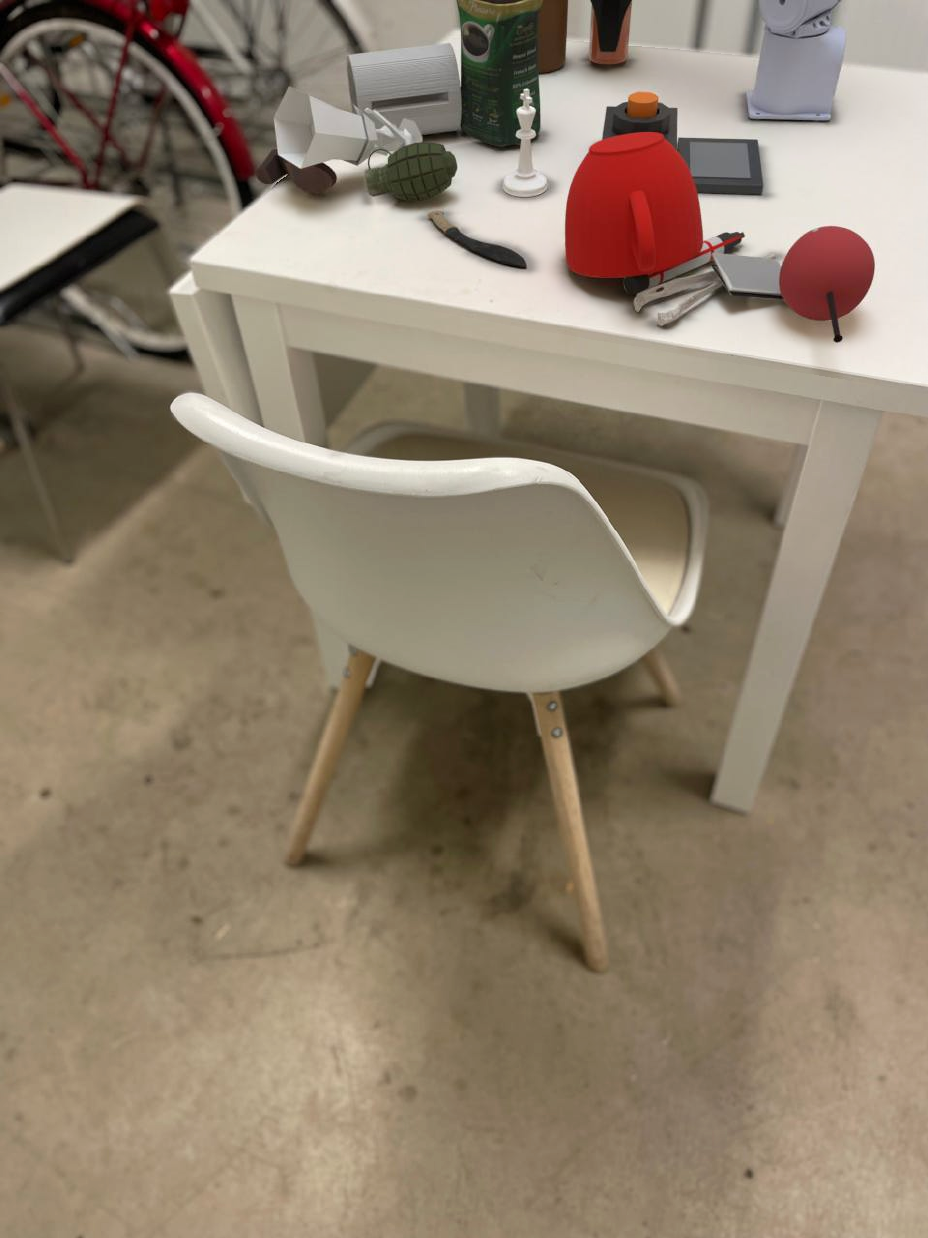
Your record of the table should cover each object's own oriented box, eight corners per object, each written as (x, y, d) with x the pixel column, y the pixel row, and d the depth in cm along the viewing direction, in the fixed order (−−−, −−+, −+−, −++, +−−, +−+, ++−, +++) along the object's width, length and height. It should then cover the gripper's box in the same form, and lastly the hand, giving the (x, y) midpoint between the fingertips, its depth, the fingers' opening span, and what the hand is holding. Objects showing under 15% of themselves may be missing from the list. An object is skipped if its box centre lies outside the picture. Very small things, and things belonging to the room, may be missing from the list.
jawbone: (666, 330, 85) (670, 309, 83) (628, 308, 87) (632, 288, 86) (791, 278, 92) (797, 258, 91) (753, 259, 95) (758, 239, 93)
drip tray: (756, 147, 109) (758, 138, 109) (761, 194, 102) (763, 184, 101) (677, 145, 111) (678, 135, 110) (676, 191, 103) (677, 181, 102)
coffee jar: (551, 135, 114) (557, -49, 100) (503, 155, 111) (503, -33, 97) (497, 113, 119) (495, -65, 105) (449, 132, 116) (441, -50, 102)
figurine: (271, 93, 100) (401, 120, 112) (279, 176, 102) (406, 193, 114) (310, 74, 95) (441, 104, 107) (317, 161, 97) (446, 181, 109)
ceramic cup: (723, 151, 76) (725, 275, 82) (686, 114, 90) (689, 223, 96) (563, 181, 78) (576, 301, 83) (550, 140, 91) (561, 246, 97)
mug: (506, 87, 125) (505, 4, 118) (472, 71, 129) (470, -10, 122) (577, 65, 129) (580, -16, 122) (542, 50, 133) (544, -29, 126)
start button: (656, 108, 104) (658, 91, 103) (656, 120, 102) (658, 102, 101) (627, 108, 104) (628, 90, 103) (626, 119, 102) (627, 102, 101)
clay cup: (628, 50, 130) (633, -8, 125) (626, 64, 127) (631, 4, 122) (590, 50, 131) (593, -9, 126) (587, 63, 128) (590, 4, 122)
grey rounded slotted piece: (349, 106, 117) (444, 94, 119) (363, 159, 114) (460, 146, 115) (344, 36, 109) (445, 24, 110) (358, 91, 106) (462, 78, 107)
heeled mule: (319, 157, 101) (339, 139, 102) (244, 154, 106) (264, 137, 108) (333, 197, 104) (352, 179, 106) (259, 193, 109) (279, 176, 111)
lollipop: (770, 362, 78) (762, 279, 88) (856, 391, 78) (839, 305, 88) (818, 278, 72) (804, 200, 83) (911, 309, 73) (885, 228, 83)
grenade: (458, 134, 104) (373, 156, 107) (444, 120, 98) (353, 143, 100) (469, 196, 106) (384, 216, 108) (455, 186, 99) (366, 207, 101)
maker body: (672, 145, 111) (679, 90, 106) (671, 191, 103) (679, 133, 98) (603, 143, 112) (607, 88, 107) (597, 189, 104) (601, 132, 99)
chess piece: (516, 200, 103) (517, 102, 95) (495, 183, 106) (493, 86, 98) (555, 190, 104) (559, 91, 97) (533, 173, 107) (535, 77, 100)
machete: (536, 266, 94) (536, 259, 93) (513, 276, 92) (513, 269, 92) (440, 213, 101) (440, 206, 101) (417, 221, 100) (417, 214, 100)
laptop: (717, 242, 87) (707, 260, 88) (738, 282, 84) (727, 301, 86) (783, 249, 89) (772, 266, 91) (805, 288, 86) (794, 306, 88)
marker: (640, 281, 87) (625, 269, 88) (635, 299, 89) (621, 287, 90) (755, 230, 93) (740, 220, 94) (748, 248, 94) (734, 237, 95)
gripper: (588, -94, 123) (583, 24, 133) (581, -64, 113) (575, 61, 123) (644, -95, 122) (633, 25, 132) (640, -64, 112) (629, 62, 123)
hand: (609, 43), depth 128 cm, fingers closed on clay cup, 5 cm apart
